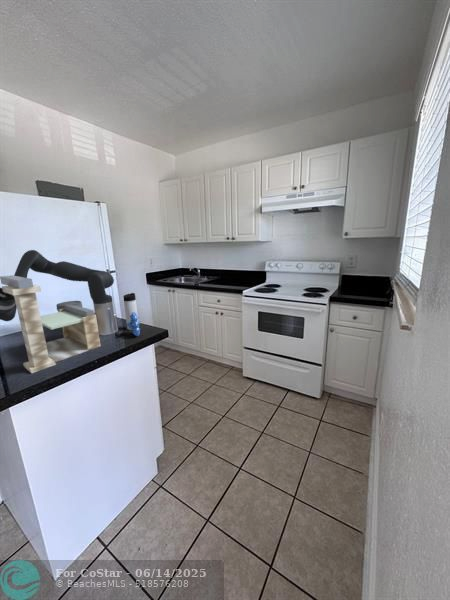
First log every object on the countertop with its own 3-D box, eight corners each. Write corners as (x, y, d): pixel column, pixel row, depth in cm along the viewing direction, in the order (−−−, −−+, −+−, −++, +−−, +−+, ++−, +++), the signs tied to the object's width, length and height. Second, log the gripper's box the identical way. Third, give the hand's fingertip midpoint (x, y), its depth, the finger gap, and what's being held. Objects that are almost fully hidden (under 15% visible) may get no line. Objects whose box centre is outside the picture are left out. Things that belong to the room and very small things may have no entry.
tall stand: (43, 356, 105) (27, 283, 97) (55, 364, 96) (39, 286, 89) (20, 363, 98) (1, 286, 91) (31, 373, 90) (12, 289, 83)
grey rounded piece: (82, 323, 149) (79, 299, 145) (88, 327, 140) (84, 303, 136) (58, 328, 141) (54, 303, 137) (62, 333, 131) (57, 307, 128)
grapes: (125, 333, 130) (123, 311, 127) (138, 330, 133) (136, 309, 130) (129, 340, 120) (126, 317, 117) (143, 337, 123) (140, 314, 121)
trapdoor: (72, 311, 125) (70, 303, 124) (94, 318, 111) (93, 310, 110) (31, 320, 111) (29, 311, 110) (51, 329, 97) (49, 320, 96)
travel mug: (141, 326, 139) (138, 293, 135) (134, 330, 133) (129, 295, 128) (132, 326, 141) (128, 292, 137) (124, 329, 135) (120, 295, 130)
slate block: (14, 282, 102) (12, 275, 101) (33, 287, 88) (31, 278, 87) (1, 283, 98) (-1, 276, 98) (19, 288, 84) (17, 280, 84)
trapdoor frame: (75, 335, 129) (70, 307, 125) (100, 346, 113) (95, 314, 110) (33, 347, 114) (26, 316, 111) (56, 361, 99) (48, 326, 95)
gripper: (-19, 294, 103) (-17, 277, 93) (22, 289, 114) (28, 273, 104) (-14, 310, 102) (-11, 294, 92) (28, 303, 113) (34, 288, 103)
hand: (10, 283), depth 98 cm, fingers open, 8 cm apart
